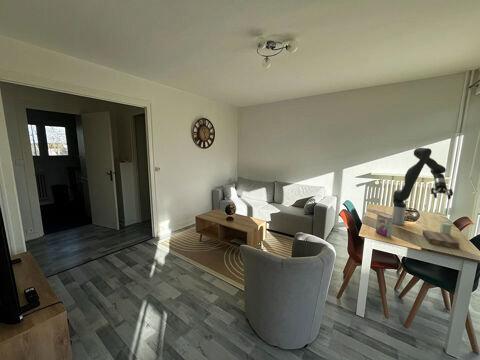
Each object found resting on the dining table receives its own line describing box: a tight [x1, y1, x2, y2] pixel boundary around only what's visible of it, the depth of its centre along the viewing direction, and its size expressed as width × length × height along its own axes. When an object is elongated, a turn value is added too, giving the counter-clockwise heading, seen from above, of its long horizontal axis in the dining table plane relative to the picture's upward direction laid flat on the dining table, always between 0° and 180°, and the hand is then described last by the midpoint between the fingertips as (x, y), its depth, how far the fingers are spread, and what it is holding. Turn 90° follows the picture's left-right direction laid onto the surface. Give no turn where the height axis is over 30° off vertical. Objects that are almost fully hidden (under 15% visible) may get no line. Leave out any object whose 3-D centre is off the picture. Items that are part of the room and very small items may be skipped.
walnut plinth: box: [422, 229, 460, 249], centre depth 160 cm, size 16×20×4 cm
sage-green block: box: [439, 222, 452, 235], centre depth 171 cm, size 5×5×10 cm
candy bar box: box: [375, 213, 394, 238], centre depth 171 cm, size 11×5×16 cm, turn 9°
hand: (442, 198), depth 182 cm, fingers open, 8 cm apart
